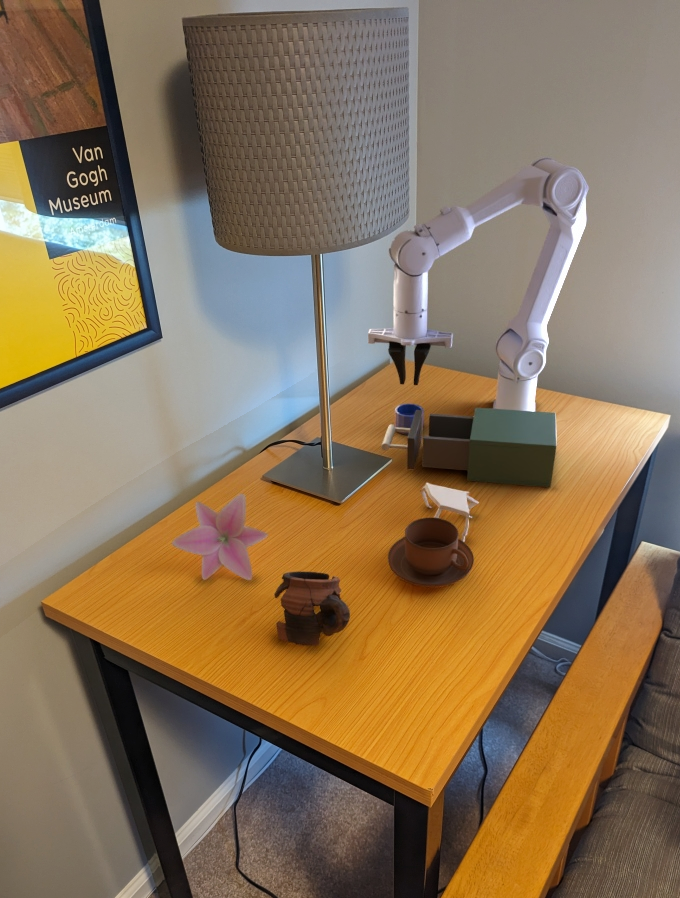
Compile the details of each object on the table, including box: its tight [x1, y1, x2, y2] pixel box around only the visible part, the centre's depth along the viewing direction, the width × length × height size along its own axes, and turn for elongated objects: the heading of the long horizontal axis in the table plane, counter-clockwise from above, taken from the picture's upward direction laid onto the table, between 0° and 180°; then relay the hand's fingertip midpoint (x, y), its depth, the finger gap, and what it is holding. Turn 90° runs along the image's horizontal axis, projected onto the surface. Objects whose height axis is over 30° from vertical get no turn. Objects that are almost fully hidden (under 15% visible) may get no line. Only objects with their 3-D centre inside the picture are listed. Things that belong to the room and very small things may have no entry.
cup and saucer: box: [387, 517, 475, 588], centre depth 103 cm, size 12×12×6 cm
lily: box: [171, 493, 269, 581], centre depth 105 cm, size 12×12×10 cm
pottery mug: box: [273, 571, 351, 646], centre depth 95 cm, size 12×10×8 cm
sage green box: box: [466, 407, 558, 488], centre depth 125 cm, size 14×12×8 cm
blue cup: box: [394, 403, 425, 436], centre depth 138 cm, size 5×5×4 cm
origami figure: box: [419, 482, 480, 543], centre depth 113 cm, size 12×8×5 cm
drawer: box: [380, 409, 474, 471], centre depth 127 cm, size 17×10×6 cm, turn 79°
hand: (409, 382), depth 133 cm, fingers closed
